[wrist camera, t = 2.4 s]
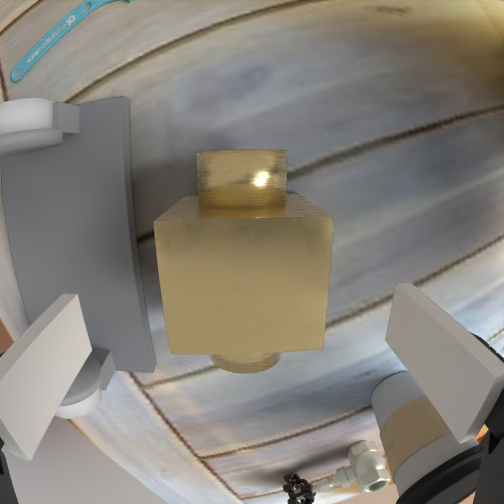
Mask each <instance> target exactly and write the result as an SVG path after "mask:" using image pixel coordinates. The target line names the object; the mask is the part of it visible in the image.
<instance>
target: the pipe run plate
mask: <svg viewBox="0 0 504 504" xmlns="http://www.w3.org/2000/svg"><path fill="white" fill-rule="evenodd" d="M0 165H1V181H2V193H3V203H4V211H5V218H6V225H7V232H8V238H9V243H10V249H11V254H12V259H13V264H14V268H15V273H16V277H17V281H18V285H19V289H20V293H21V296H22V300H23V303H24V307H25V310H26V314H27V317H28V320H29V323H30V326H31V325H32V324H33V323H34V322H35V321H36V320H37V319H38V318H39V317H40V316H41V315H42V314H43V313H44V312H45V311H46V310H47V309H48V308H49V307H50V306H51V305H52V304H53V303H54V302H55V301H56V300H57V299H58V298H59V297H60V296H61V295H62V294H78V298H79V302H80V307H81V311H82V315H83V319H84V322H85V326H86V330H87V333H88V337H89V340H90V344H91V347H92V351H91V353H90V354H89V356H88V358H87V359H86V361H85V363H84V364H83V366H82V368H81V369H80V371H79V373H78V374H77V376H76V378H75V379H74V381H73V383H72V385H71V386H70V388H69V390H68V391H67V393H66V395H65V397H64V398H63V400H62V402H61V404H60V406H59V407H58V409H57V411H56V413H55V415H56V416H58V417H61V418H65V419H74V418H79V417H82V416H85V415H87V414H89V413H90V412H92V411H93V410H94V409H95V408H96V407H97V406H98V405H99V403H100V401H101V397H102V394H101V390H106V388H107V386H108V384H109V382H110V380H111V378H112V376H113V374H114V372H115V370H117V371H130V372H144V373H153V372H154V369H155V366H156V358H155V353H154V348H153V343H152V338H151V333H150V327H149V322H148V316H147V310H146V304H145V298H144V292H143V285H142V278H141V271H140V263H139V255H138V247H137V238H136V228H135V217H134V205H133V192H132V175H131V152H130V99H128V98H126V97H124V96H120V97H114V98H108V99H103V100H98V101H92V102H88V103H83V104H78V105H70V104H66V103H62V102H56V103H53V101H51V100H49V99H44V98H25V99H16V100H11V101H6V102H3V103H0ZM100 389H101V390H100Z"/></svg>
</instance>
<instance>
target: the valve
mask: <svg viewBox="0 0 504 504" xmlns="http://www.w3.org/2000/svg"><path fill="white" fill-rule="evenodd" d="M348 458H349V461H350V464H351V466H349V467H347V468H345V467H344V466H343V467H341V468H338V469H336V475H333V478H331V479H330V478H329V477H328V478H326V479H323V480H320V481H318V484H317V485H314V486H313V485H312V484H311V483H308V481H306V480H305V479H300V477H299V475H297V474H295V475H293V474H292V473H290V474H287V475H285V476H284V479H285V481H286V482H287V484H285V485H283V490H284V491H285V492H286V493H288V495H289V498H290V499H288V504H300V503H299V502H298V500H300V501H301V504H312V503H313V502H314V496H315V495H316V492H317V491H320V490H321V491H322V492H325V491H327V490H330V489H332V488H333V486H335V485H336V486H340V485H341V486H342V487H343V488H347V487H350V486H352V483H353V482H355V481H358V482H357V485H358V488H359V491H360V493H363V494H370V493H374V492H377V491H379V490H381V489H383V488H384V487H386V486H387V485H388V483H389V481H390V477H389V474H388V472H387V470H385V461H384V458H383V457H382V455H381V454H379V453H378V448H377V446H376V444H375V442H373V441H368V440H363V441H361V442H359V443H357V444H355V445H353V446H351V447H350V449H349V452H348ZM298 479H299V480H298ZM301 483H303V484H301ZM294 487H295V488H296V490H294Z"/></svg>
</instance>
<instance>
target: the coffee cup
mask: <svg viewBox="0 0 504 504" xmlns="http://www.w3.org/2000/svg"><path fill="white" fill-rule="evenodd" d="M371 405H372V408H373V411H374V414H375V417H376V420H377V423H378V426H379V430H380V438H381V441H382V444H383V448H384V451H385V454H386V458H387V461H388V465H389V468H390V472H391V475H392V479H393V482H394V483H395V484H396V486H397V490H398V494H399V499H398V500H397V502H396V504H459V503H460V502H462V501H463V500H464V499H466V498H467V497H469V496H470V495H471V494H473V493H474V492H475V491H476V487H477V483H478V477H479V472H480V466H481V460H482V454H481V453H482V451H483V446H484V445H483V446H482V447H481V448H480V450H479V451H478V453H476V452H475V450H476V448H477V446H478V445H479V443H478V441H477V440H476V439H475V438H472V439H470V440H468V441H466V442H463V443H461V444H459V442H458V441H457V439H456V438H455V436H454V435H453V433H452V432H451V430H450V429H449V427H448V426H447V424H446V423H445V422H444V420H443V419H442V417H441V416H440V414H439V413H438V411H437V410H436V409H435V407H434V406H433V404H432V403H431V401H430V400H429V399H428V397H427V396H426V394H425V393H424V392H423V390H422V389H421V388H420V386H419V385H418V383H417V382H416V381H415V379H414V378H413V376H412V375H411V374H410V372H409V371H405V372H400V373H397V374H394V375H392V376H390V377H388V378H387V379H385V380H384V381H382V382H381V383H380V384H379V385H378V386H377V387H376V388H375V390H374V391H373V394H372V396H371Z"/></svg>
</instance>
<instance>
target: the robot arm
mask: <svg viewBox="0 0 504 504" xmlns="http://www.w3.org/2000/svg"><path fill="white" fill-rule="evenodd" d="M385 340H386V342H387V343H388V344H389V346H390V347H391V348H392V350H393V351H394V352H395V354H396V355H397V356H398V358H399V359H400V360H401V362H402V363H403V364H404V366H405V367H406V368H407V370H408V371H409V372H410V374H411V375H412V376H413V378H414V379H415V381H416V382H417V383H418V385H419V386H420V388H421V389H422V390H423V392H424V393H425V394H426V396H427V397H428V399H429V400H430V401H431V403H432V404H433V406H434V407H435V409H436V410H437V411H438V413H439V414H440V416H441V417H442V419H443V420H444V422H445V423H446V424H447V426H448V427H449V429H450V430H451V432H452V433H453V435H454V436H455V438H456V439H457V441H458V442H459V444H461V443H463V442H466V441H468V440H470V439H472V438H474V437H476V436H477V435H478V433H479V431H480V430H481V428H482V427H483V425H484V424H485V425H486V426H487V428H488V431H487V433H486V434H485V436H484V437H483V439H482V440H481V442H480V443H479V445H478V446H477V448H476V450H475V452H476V453H478V451H479V450H480V448H481V447H482V446H483V445H484V446H483V451H482V453H481V454H482V460H481V466H480V472H479V477H478V483H477V487H476V492H475V497H474V501H473V504H504V358H503V357H502V356H501V355H500V354H499V353H496V351H495V350H494V349H493V348H492V347H489V344H488V343H486V342H485V341H484V340H483V339H482V338H481V337H479V336H477V335H475V334H473V333H471V332H469V331H468V330H467V329H465V328H464V327H463V326H462V325H461V324H460V323H459V322H457V321H456V320H455V319H454V318H453V317H452V316H450V315H449V314H448V313H447V312H446V311H444V310H443V309H442V308H441V307H440V306H438V305H437V304H436V303H435V302H434V301H432V300H431V299H430V298H429V297H428V296H426V295H425V294H424V293H423V292H421V291H420V290H419V289H418V288H416V287H415V286H414V285H413V284H411V283H401V284H396V285H395V291H394V297H393V302H392V308H391V313H390V318H389V323H388V328H387V333H386V338H385ZM91 351H92V347H91V344H90V340H89V337H88V333H87V330H86V326H85V322H84V319H83V315H82V311H81V307H80V302H79V298H78V294H62V295H61V296H60V297H59V298H58V299H57V300H56V301H55V302H54V303H53V304H52V305H51V306H50V307H49V308H48V309H47V310H46V311H45V312H44V313H43V314H42V315H41V316H40V317H39V318H38V319H37V320H36V321H35V322H34V323H33V324H32V325H31V326H30V327H29V328H28V329H27V330H26V331H25V332H24V333H23V334H22V335H21V336H20V337H19V338H18V339H17V340H16V341H15V342H14V343H13V344H12V345H11V347H10V348H9V349H8V350H7V351H5V352H3V353H2V354H0V504H18V501H17V497H16V494H15V491H14V488H13V485H12V481H11V478H10V474H9V470H8V466H7V462H6V458H5V455H4V453H3V452H2V451H1V448H2V447H3V445H4V444H5V445H6V446H7V448H8V449H9V451H10V452H11V453H12V454H13V456H16V457H19V458H21V459H24V460H27V461H31V459H32V457H33V455H34V453H35V451H36V449H37V447H38V445H39V443H40V441H41V439H42V437H43V435H44V433H45V431H46V429H47V428H48V426H49V424H50V422H51V420H52V418H53V416H54V415H55V413H56V411H57V409H58V407H59V406H60V404H61V402H62V400H63V398H64V397H65V395H66V393H67V391H68V390H69V388H70V386H71V385H72V383H73V381H74V379H75V378H76V376H77V374H78V373H79V371H80V369H81V368H82V366H83V364H84V363H85V361H86V359H87V358H88V356H89V354H90V353H91Z"/></svg>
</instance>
